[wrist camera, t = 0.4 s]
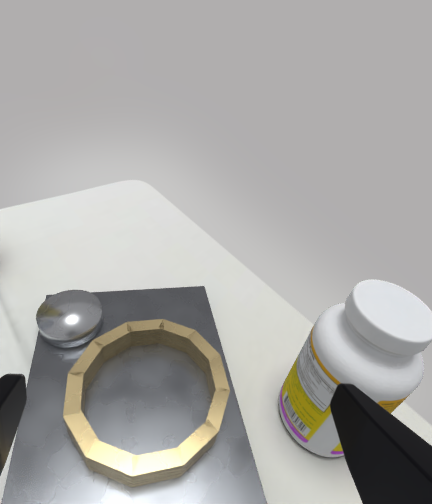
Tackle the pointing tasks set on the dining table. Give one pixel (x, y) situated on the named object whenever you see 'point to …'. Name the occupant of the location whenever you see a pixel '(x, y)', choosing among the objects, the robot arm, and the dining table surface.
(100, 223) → the dining table surface
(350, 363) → the supplement bottle
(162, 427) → the carrier plate
